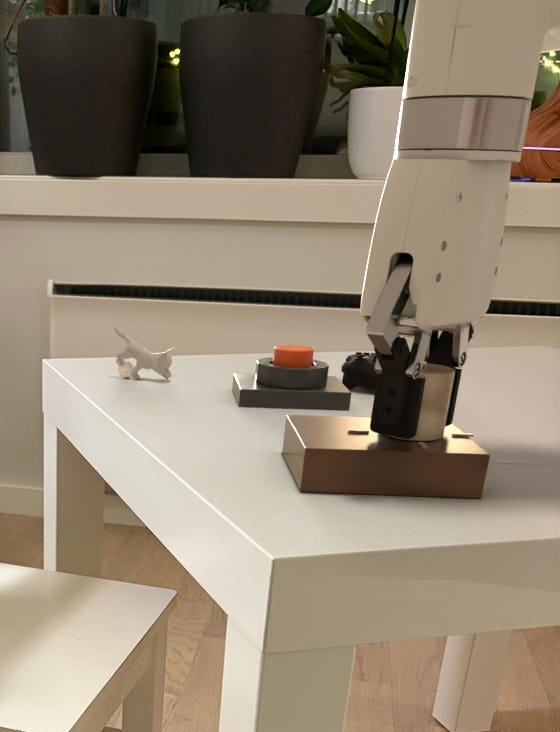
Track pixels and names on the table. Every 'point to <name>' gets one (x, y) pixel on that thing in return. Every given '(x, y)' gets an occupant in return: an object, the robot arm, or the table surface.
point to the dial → (434, 402)
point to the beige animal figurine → (141, 359)
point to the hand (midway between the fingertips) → (411, 426)
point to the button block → (290, 387)
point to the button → (293, 355)
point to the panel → (380, 460)
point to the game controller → (360, 371)
